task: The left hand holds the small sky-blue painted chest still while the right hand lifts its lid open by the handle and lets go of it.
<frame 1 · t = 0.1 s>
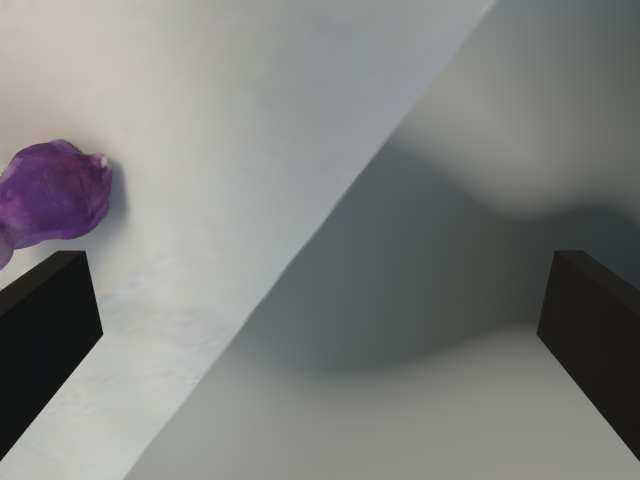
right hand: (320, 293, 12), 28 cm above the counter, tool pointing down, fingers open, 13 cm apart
figurine: (68, 192, 40), on the counter
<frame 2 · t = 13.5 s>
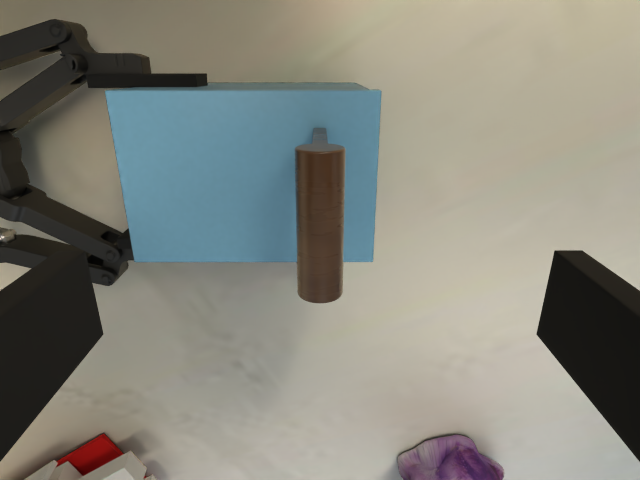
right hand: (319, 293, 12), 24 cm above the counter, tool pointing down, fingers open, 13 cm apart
left hand: (209, 163, 29), fingers closed on chest, 10 cm apart
lid: (237, 200, 21), point 15 cm above the counter, hinge at 0.0°
figurine: (437, 463, 48), on the counter
chest: (267, 147, 35), on the counter, touching left hand
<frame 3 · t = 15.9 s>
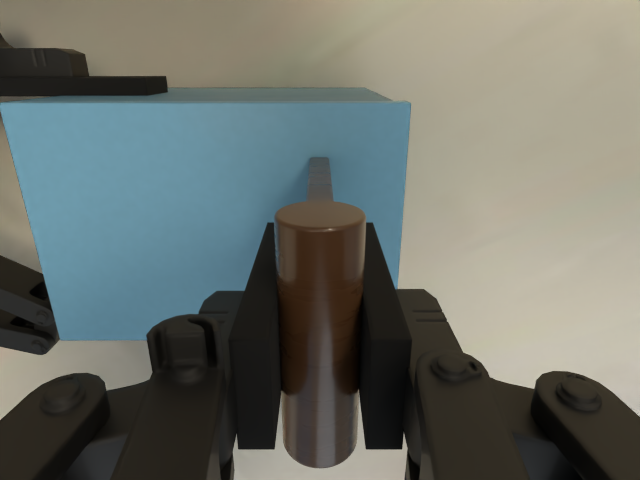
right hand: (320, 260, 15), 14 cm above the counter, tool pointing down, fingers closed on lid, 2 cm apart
lid: (192, 274, 14), point 15 cm above the counter, hinge at 0.0°, touching right hand
chest: (252, 169, 27), on the counter, touching left hand
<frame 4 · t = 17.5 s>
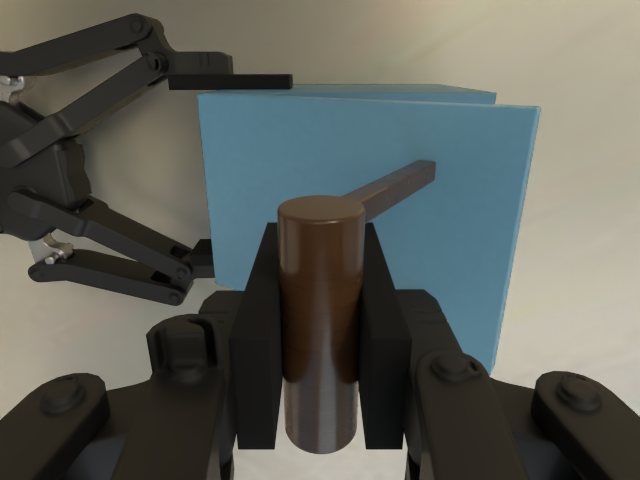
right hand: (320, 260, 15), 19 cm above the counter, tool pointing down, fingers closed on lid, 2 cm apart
left hand: (293, 172, 27), fingers closed on chest, 10 cm apart
lid: (277, 249, 15), point 18 cm above the counter, hinge at 32.2°, touching right hand
chest: (340, 154, 32), on the counter, touching left hand
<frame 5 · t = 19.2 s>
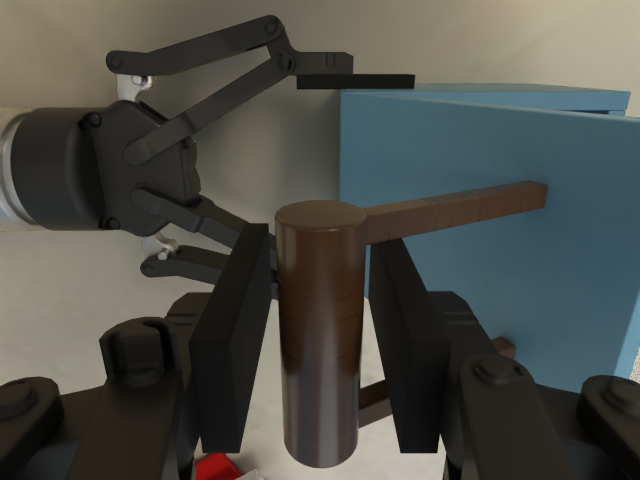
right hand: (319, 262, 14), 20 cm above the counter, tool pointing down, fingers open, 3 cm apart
left hand: (403, 170, 27), fingers closed on chest, 10 cm apart
lid: (354, 253, 15), point 19 cm above the counter, hinge at 62.2°
chest: (430, 152, 33), on the counter, touching left hand
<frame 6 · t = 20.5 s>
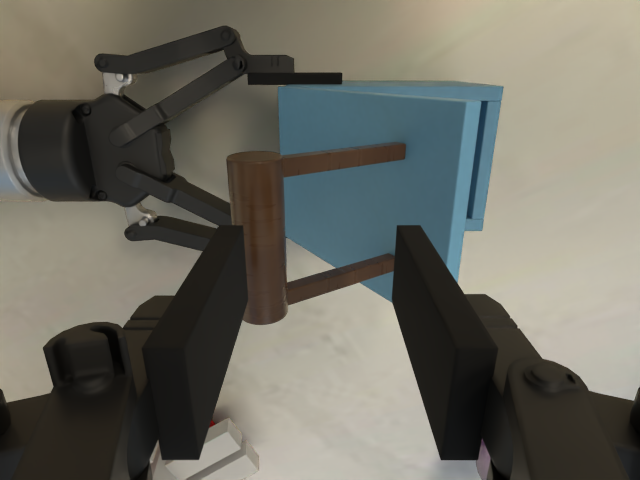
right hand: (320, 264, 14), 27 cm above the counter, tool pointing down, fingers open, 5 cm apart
left hand: (339, 151, 33), fingers closed on chest, 10 cm apart
lid: (286, 200, 21), point 19 cm above the counter, hinge at 56.8°
toy: (143, 460, 53), on the counter
figurine: (501, 429, 52), on the counter
chest: (371, 138, 39), on the counter, touching left hand
when the left hand's fingers open (6 cm above the counter, at t = 23.0 s): chest stays where it is, on the counter.
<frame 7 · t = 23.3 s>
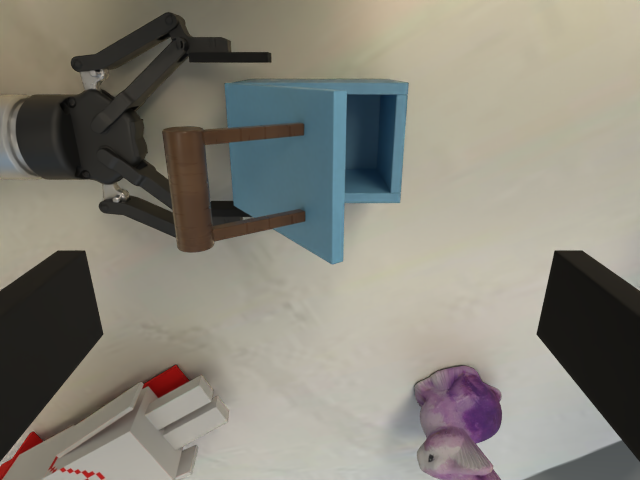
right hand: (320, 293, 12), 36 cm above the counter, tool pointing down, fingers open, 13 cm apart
left hand: (273, 137, 40), fingers open, 13 cm apart
lid: (222, 168, 28), point 19 cm above the counter, hinge at 56.0°
toy: (129, 417, 60), on the counter
figurine: (447, 391, 58), on the counter
chest: (319, 128, 45), on the counter
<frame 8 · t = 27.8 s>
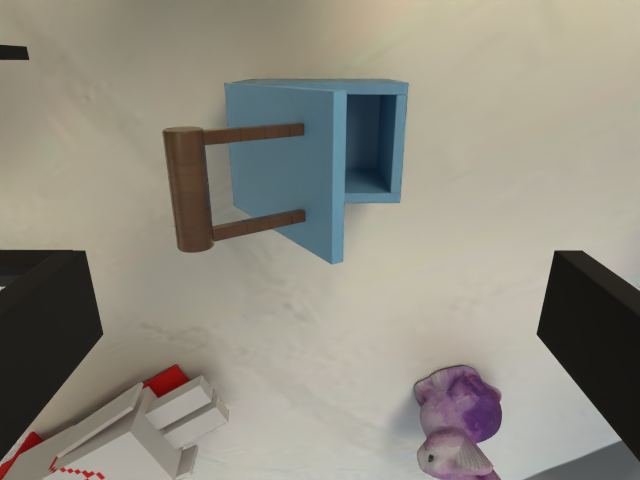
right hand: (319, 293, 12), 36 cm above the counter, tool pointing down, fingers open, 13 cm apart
lid: (222, 168, 28), point 19 cm above the counter, hinge at 56.0°
toy: (129, 417, 60), on the counter
figurine: (447, 391, 58), on the counter
chest: (319, 128, 45), on the counter
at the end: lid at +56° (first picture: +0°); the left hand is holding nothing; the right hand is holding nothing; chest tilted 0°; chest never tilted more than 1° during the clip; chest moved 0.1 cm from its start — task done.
